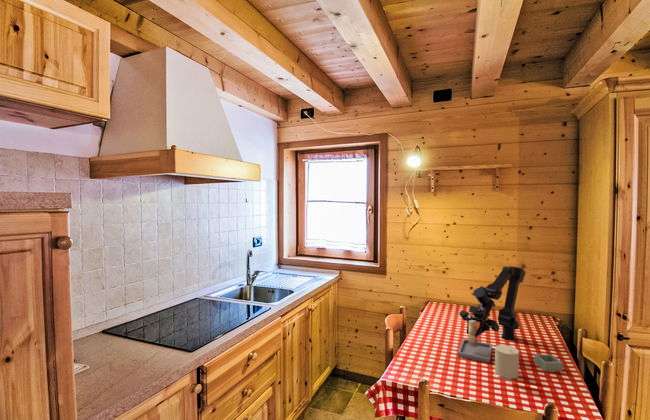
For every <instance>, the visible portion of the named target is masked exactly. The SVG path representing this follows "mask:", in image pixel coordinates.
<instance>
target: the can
mask: <svg viewBox="0 0 650 420" xmlns="http://www.w3.org/2000/svg"><path fill="white" fill-rule="evenodd" d="M494 350H495V351H494V353H495V356H494V358H495V359H494V375H497V376H496V377H497V378H498V379H501V380H504V381H506V382H517V381H516V379H517V378H518V377H519V375H520V374H519V368H520V367H519V365H520V364H519V360H520V350H519V349H517V348H516V347H514V346H511V345H508V344H507V345H506V344H498V345H496V346H495V347H494Z"/></svg>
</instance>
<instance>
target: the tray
mask: <svg viewBox="0 0 650 420" xmlns="http://www.w3.org/2000/svg"><path fill="white" fill-rule="evenodd" d="M468 340H469V339H466V338H462V340H461V343H460V345H459V348H458V350H457V357H459V358H464V359H468V360H472V361H478V362H481V363H486V364H490V362H491V357H492V352H493V351H492V350H493V344H492V343H488V342H487V343H486V342H482V341H477V347H470V346H469V345H468Z"/></svg>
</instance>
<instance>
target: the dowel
mask: <svg viewBox="0 0 650 420" xmlns="http://www.w3.org/2000/svg"><path fill="white" fill-rule="evenodd" d="M478 323H479V322H477V321H475V320H469V334H468V339H467V340H468V345H469V346H470V347H477V342H478V336H477V337H475V334H476V332H477V330H478V328H479V326H478Z"/></svg>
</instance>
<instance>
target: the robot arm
mask: <svg viewBox="0 0 650 420" xmlns="http://www.w3.org/2000/svg"><path fill="white" fill-rule="evenodd" d="M525 276H526V270H525V269H524V268H522V267H519V266H512V265H510V266H503V267H502V270H501V272H499V274H498V276H497V277H496V278H495V279H494V281H493V282H492V283H489V284H487V286H479V287H478V288H475V289H474V290H473V293H472V294H473V296H474V297H475V299H476V300H477V302H478V304H479V305H477V306H474V305H470V306H469V309H468V311H466V310H461V311H460V312H459V313H458V315H459V316H460V317H461V318H462V320H463V321H464V322H466V323H467V324H466V325H467V326H466V334H467V335H469V320H475V321H477V322H478V323H479V326H478V330H477V332H476V334H475V337H477V338H478V337H479V336H481V334H484V333H485V332H487V331H491V330H492V331H495V332H499V331H500V326H502V333H501V339H503V340H509V341H516V335H515V330H519V328H520V322H519V321H518V320H517V314H516V312H515V307H516V306H515V305H516V301H517V296H518V291H519V285H520V283H522V282H523V281H524V279H525ZM507 283H508V285H507V290H506V296H505V301H504V305H503V308H500V309H499V310H498V311H499V312H498V315H497V321H496V320H494V319H491V318H488V317H491V311H492V309H493V307H494V308H496V304H495V300H496V301H498V300H500V299H501V297H502V294H503V291H502V290H503V288H504V287H505V285H506V284H507ZM469 312H470V313H471V314H470V313H469Z"/></svg>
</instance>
